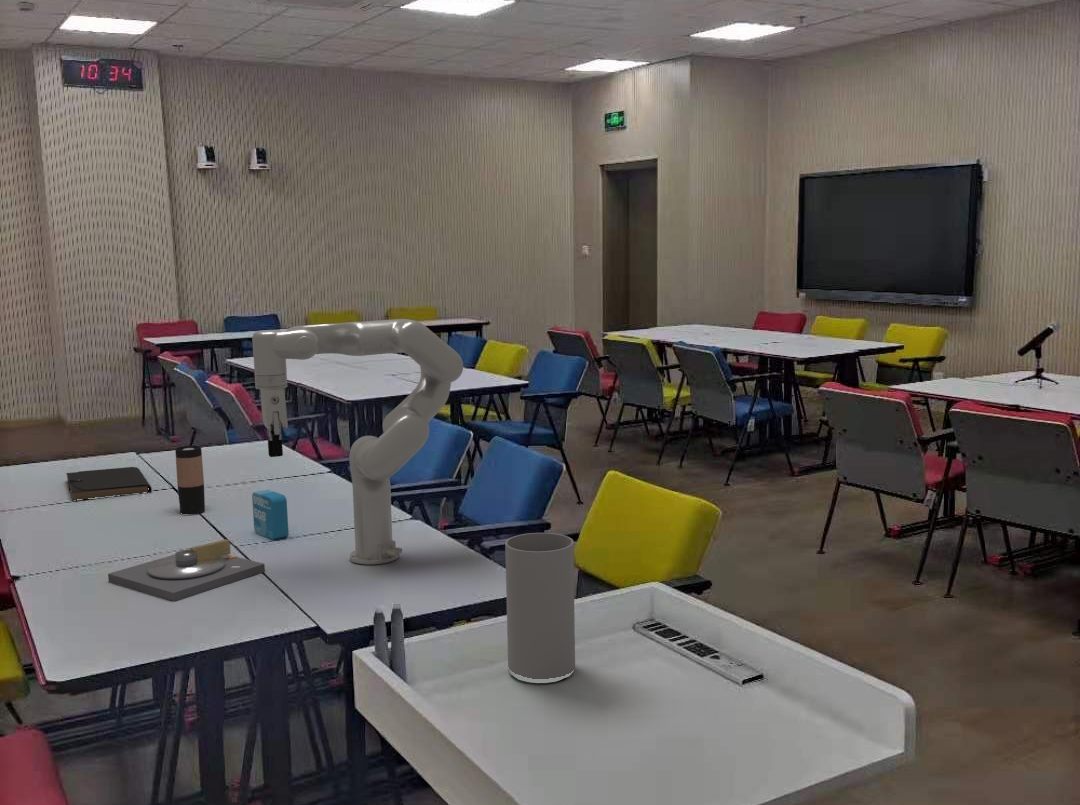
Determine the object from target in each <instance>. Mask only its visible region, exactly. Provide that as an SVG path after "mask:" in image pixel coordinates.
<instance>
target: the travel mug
mask: <svg viewBox="0 0 1080 805" xmlns="http://www.w3.org/2000/svg"><path fill="white" fill-rule="evenodd" d="M174 450H175V452H174V453H175V464H176V465H175V467H176V482H177V493H178V502H179V504H178V505H179V512H180V513H179V514H181V513H182V514H196V515H199V514H198V513H201V514H203V513H205V512H204V511H206V508H205V507H206V504H205V502H206V501H205V498H206V497H205V480H204V468H203V455H202V454H203V453H202V447H201V446H199V445H184V446H183V445H182V446H178V447H176V448H175V449H174ZM182 514H181V515H182Z"/></svg>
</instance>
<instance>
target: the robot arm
mask: <svg viewBox="0 0 1080 805" xmlns="http://www.w3.org/2000/svg"><path fill="white" fill-rule="evenodd" d="M251 339H252V342H251V343H252V354H253V369H254V383H255V386H254V388H255V389H256V390H260V405H261V415H262V421H263V422H262V424H263V426H264V427H265V428H266V429H267V449H268V456H269V457H270V458H276V457H277V458H278V457H283V455H284V451H283V440H282V427H283V428H284V429H288V428H289V423H288V422H289V421H288V413H287V403H286V397H285V396H286V395H285V394H286V393H285V388H288V374H287V373H288V372H287V360H299V361H300V360H301V361H302V360H303V361H304V360H309V359H311V358H313V357H314V356H315V355H322V354H323V355H324V354H325V355H326V354H327V355H328V354H333V355H336V354H337V355H345V356H352V357H363V356H375V355H390V354H400V353H401V354H402V353H404V354H406V355H408V357H409V358H411V359H412V360H413V361H414V362H415V363H417V365H419V367H420V378H419V381H418V383H417V385H416V386H415V388H414V389H413V390H412V391H411V392H410V393H409V395H407V396H406V397H405V398H404V399H403V400H402V401H401V402H400V403H399V404H398V405H397V406H396V407H395V408H394V409H393V410H391V411H390V412H389V413H388V414H387V415H386V416H385V418H384V420H383V421H382V431H383V433H382V434H381V435H380V436H379V437H378V436H374V435H364V436H361V437H359V438H358V439H356V440H355V441H354V442H353V443H352V446H351V447H350V450H349V455H348V458H349V460H348V461H349V468H350V475H351V476H350V477H351V486H352V503H353V523H354V524H353V525H354V526H353V527H354V529H353V530H354V546H355V549H354V551H351V552H350V553H349V560H350V561H351V562H352V563H354V564H359V565H381V564H388V563H390V562H393V561H396V560H397V559H398V558H399V557H400V554H402V553H403V549H402V548H401V547H397V546H396V540H393V522H392V520H393V519H392V517H393V516H392V499H391V498H392V491H391V489H392V488H391V481H390V480H391V479H390V478H391V477H392V476H394V475H395V473H397V472H398V471H399V470H400V469H402V467H403V466H404V465H406V464H407V463H408V462H409V461H410V460H411V459H412V458H413V457H414V456H415V455H416V454H417V453H418V452H419V451H420V450H421V449H422V448H423V447H424V446H425V444H426V443H427V440H428V439H429V435H430V425H429V423H430V422H431V421H432V419H433V418H434V417H435V416H436V415H437V414H438V413H439V412H440V411H441V410H442V409H443V407H444V405H446V403H447V401H448V399H449V396H450V392H451V386H452V383H454V382H455V381H457V380H458V379H459V378H460V377H461V375H462V373H463V370H464V362H463V359H462V357H461V356H460V354H459V353H458V352H457V351H456V350H455V349H454V348H452V347H451V346H450V345H448V344H447V343H446V342H445V341H444V340H443V339H442V338H441V337H439V336H438V335H436V334H435V332H433V331H432V330H430V328H429V327H427V326H426V325H425V324H423V323H422V322H419V321H418V320H413V319H408V318H396V319H393V318H392V319H381V320H379V319H378V320H365V321H350V322H340V323H325V324H324V323H323V324H311V325H310V324H308V325H296V326H295V325H294V326H291V327H289V328H287V329H286V330H285V331H281V330H278V329H266V330H265V329H263V330H257V331H255V332H254V333H253V334H252V338H251Z"/></svg>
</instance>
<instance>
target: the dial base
mask: <svg viewBox="0 0 1080 805" xmlns="http://www.w3.org/2000/svg"><path fill="white" fill-rule="evenodd" d="M171 556H175V554H172V555H169V556H165V557H161V558H158V559H155V560H151V561H148V562H143V563H141V564H137V565H134V566H131V567H126V568H123V569H120V570H116V571H113V572H109V573H107V576H108V578H107V579H108V583H112V584H115V585H119V586H122V587H125V588H129V589H132V590H134V591H139V592H142V593H145V594H149V595H151V596H155V597H158V598H161V597H162V599H165V600H169V601H171V600H172V602H176V601H179V600H182V599H185V598H188V597H192V596H195V595H197V594H201V593H203V592H206V591H209V590H213V589H217V588H219V587H222V586H225V585H228V584H231V583H234V582H237V581H241V580H243V579H247V578H249V577H252V576H255V575H258V574H262V573H265V572H266V571H265V570H266V569H265V568H266V566H265V563H263V562H259V561H255V560H250V559H247V558H243V557H238V556H237V555H231V554H228V555H224V556H222V557H224V558H225V566H224V568H222V569H221V570H219V571H217V572H215V573H212V574H209V575H205V576H201V577H196V578H189V579H176V580H170V579H158V578H154V577H152V576H150V575H149V574H148V566H149V565H150V564H151V563H153V562H155V561H157V560H160V559H163V558H167V557H171Z"/></svg>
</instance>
